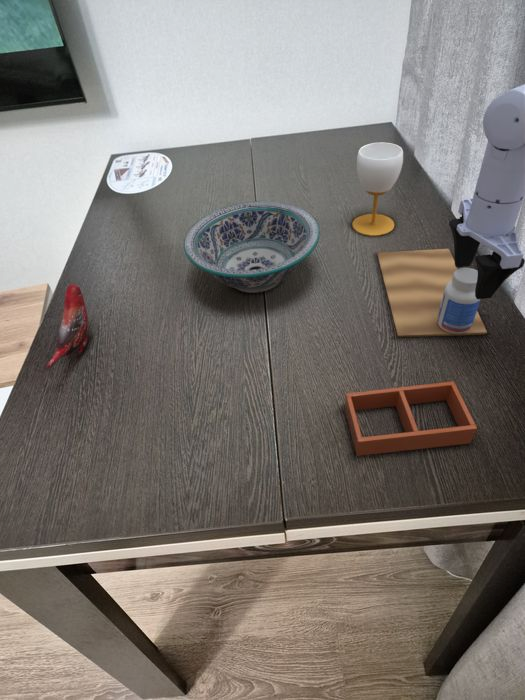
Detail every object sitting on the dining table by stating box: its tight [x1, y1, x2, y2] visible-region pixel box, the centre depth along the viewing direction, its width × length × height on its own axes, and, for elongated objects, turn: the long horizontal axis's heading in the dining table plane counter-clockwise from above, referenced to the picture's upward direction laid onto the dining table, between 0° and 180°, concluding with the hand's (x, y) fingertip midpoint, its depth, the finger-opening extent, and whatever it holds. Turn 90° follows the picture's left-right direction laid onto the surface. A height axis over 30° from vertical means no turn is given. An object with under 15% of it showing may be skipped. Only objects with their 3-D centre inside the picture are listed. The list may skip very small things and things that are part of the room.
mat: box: [376, 248, 488, 339], centre depth 79 cm, size 24×14×1 cm, turn 178°
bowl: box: [183, 200, 321, 294], centre depth 84 cm, size 25×25×10 cm
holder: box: [344, 380, 478, 457], centre depth 59 cm, size 15×8×4 cm, turn 94°
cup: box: [352, 141, 404, 237], centre depth 90 cm, size 9×9×16 cm
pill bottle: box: [437, 267, 482, 334], centre depth 69 cm, size 6×5×10 cm
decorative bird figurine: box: [45, 283, 90, 371], centre depth 72 cm, size 3×18×10 cm, turn 178°
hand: (472, 280), depth 64 cm, fingers open, 7 cm apart
